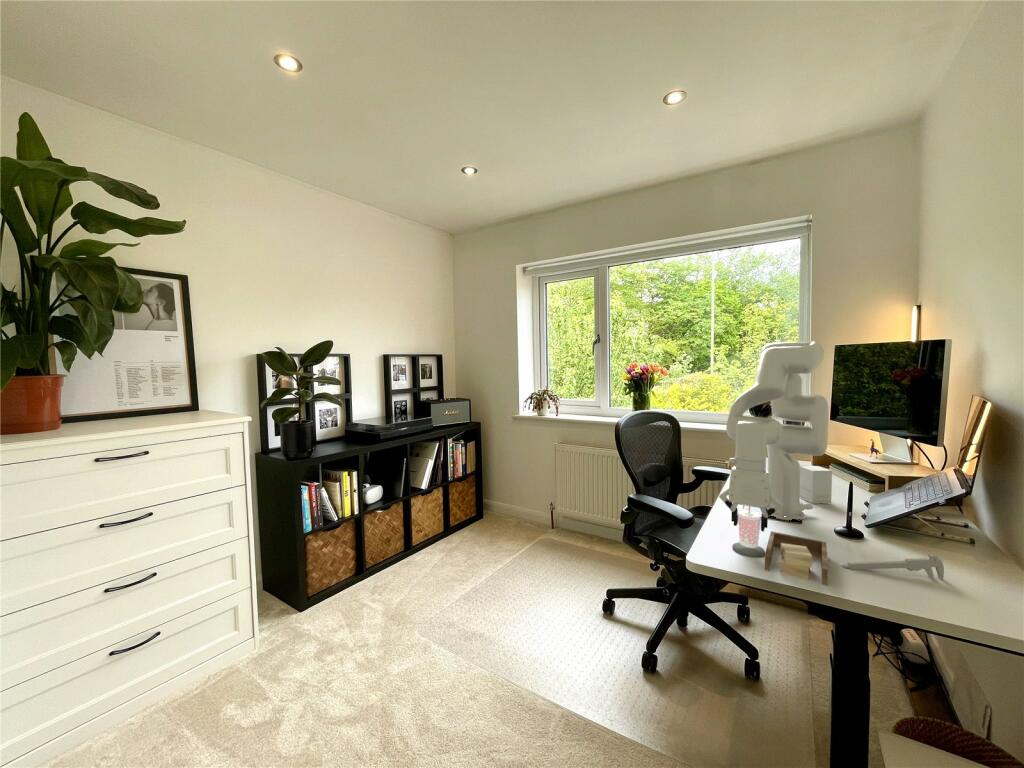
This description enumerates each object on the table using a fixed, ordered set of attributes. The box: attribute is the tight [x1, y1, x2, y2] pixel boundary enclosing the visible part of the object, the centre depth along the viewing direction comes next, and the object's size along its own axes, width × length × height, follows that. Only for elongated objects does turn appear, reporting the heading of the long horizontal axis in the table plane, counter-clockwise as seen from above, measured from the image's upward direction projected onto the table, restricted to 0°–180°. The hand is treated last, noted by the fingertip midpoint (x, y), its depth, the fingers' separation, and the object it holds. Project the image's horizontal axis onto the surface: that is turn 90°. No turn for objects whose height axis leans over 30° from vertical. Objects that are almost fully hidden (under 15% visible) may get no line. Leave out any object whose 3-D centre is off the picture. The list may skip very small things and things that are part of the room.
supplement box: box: [800, 465, 833, 504], centre depth 159 cm, size 7×7×13 cm
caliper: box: [841, 553, 945, 580], centre depth 106 cm, size 20×1×6 cm, turn 72°
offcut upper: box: [780, 543, 813, 569], centre depth 107 cm, size 6×6×3 cm
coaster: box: [732, 541, 766, 558], centre depth 119 cm, size 8×8×1 cm
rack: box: [763, 531, 829, 586], centre depth 111 cm, size 18×13×4 cm
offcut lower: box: [779, 556, 811, 580], centre depth 107 cm, size 6×6×3 cm
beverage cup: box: [737, 506, 762, 548], centre depth 118 cm, size 6×6×14 cm
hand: (749, 526), depth 119 cm, fingers closed on beverage cup, 6 cm apart
